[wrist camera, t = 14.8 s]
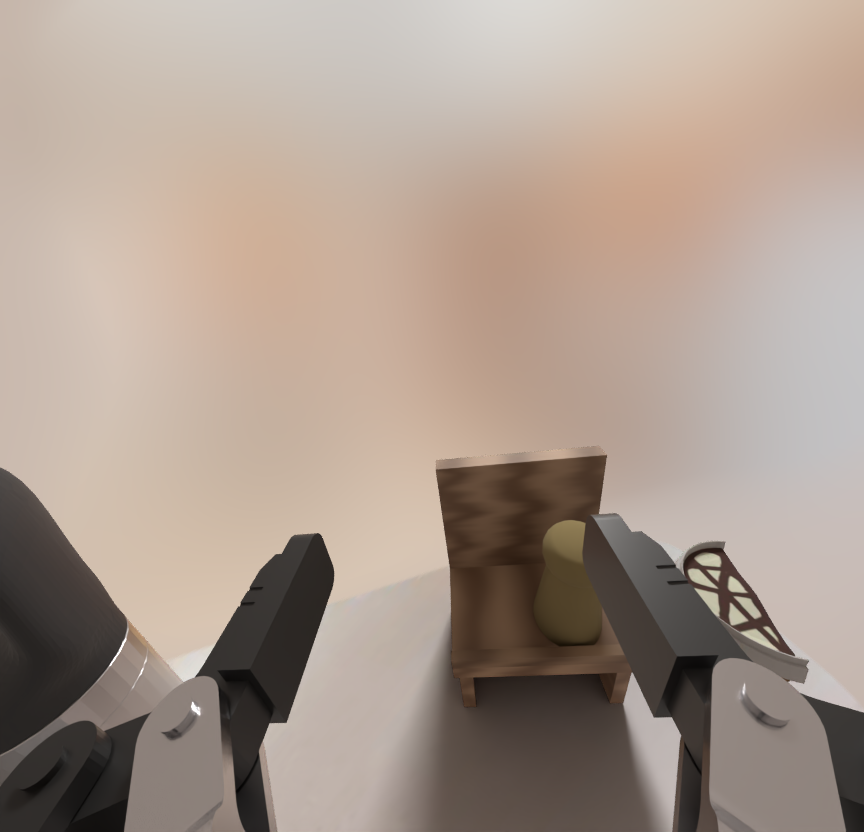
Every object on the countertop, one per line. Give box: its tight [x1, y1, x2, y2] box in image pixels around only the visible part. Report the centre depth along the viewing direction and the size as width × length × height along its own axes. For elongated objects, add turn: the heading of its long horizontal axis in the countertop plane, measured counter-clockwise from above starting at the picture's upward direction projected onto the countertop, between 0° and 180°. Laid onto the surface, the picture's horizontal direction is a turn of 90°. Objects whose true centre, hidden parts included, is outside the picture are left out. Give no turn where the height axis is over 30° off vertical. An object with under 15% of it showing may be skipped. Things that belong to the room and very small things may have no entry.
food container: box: [675, 541, 809, 684], centre depth 31 cm, size 12×6×10 cm, turn 165°
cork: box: [533, 520, 602, 647], centre depth 27 cm, size 6×6×11 cm
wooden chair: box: [436, 446, 632, 707], centre depth 31 cm, size 16×12×22 cm
